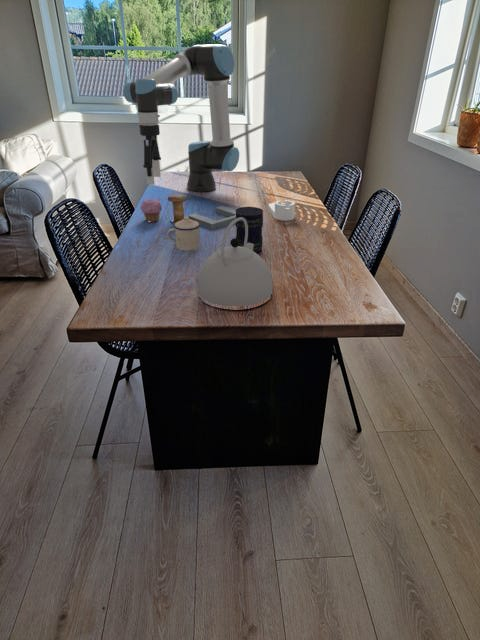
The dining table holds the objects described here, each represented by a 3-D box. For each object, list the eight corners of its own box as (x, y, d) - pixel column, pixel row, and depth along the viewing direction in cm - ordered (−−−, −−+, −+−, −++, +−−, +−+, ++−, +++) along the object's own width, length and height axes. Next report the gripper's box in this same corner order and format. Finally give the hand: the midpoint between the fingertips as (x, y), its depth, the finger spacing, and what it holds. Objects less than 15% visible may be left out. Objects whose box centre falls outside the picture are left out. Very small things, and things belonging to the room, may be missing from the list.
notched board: (188, 221, 192) (187, 215, 190) (222, 211, 204) (222, 205, 202) (212, 230, 182) (212, 224, 181) (246, 219, 194) (246, 213, 193)
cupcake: (141, 220, 193) (138, 197, 187) (161, 218, 195) (159, 195, 190) (144, 226, 185) (141, 203, 180) (164, 224, 188) (162, 201, 182)
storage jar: (243, 257, 157) (243, 216, 150) (230, 248, 165) (230, 209, 157) (267, 253, 161) (268, 212, 154) (254, 244, 169) (255, 205, 161)
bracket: (296, 220, 194) (297, 205, 190) (277, 221, 192) (277, 206, 189) (284, 207, 210) (285, 192, 207) (266, 207, 209) (267, 193, 206)
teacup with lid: (201, 243, 169) (200, 213, 163) (199, 252, 162) (197, 221, 156) (170, 242, 170) (167, 213, 164) (166, 252, 162) (163, 221, 156)
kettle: (220, 268, 150) (218, 202, 138) (284, 280, 142) (288, 211, 130) (184, 301, 130) (178, 227, 118) (256, 316, 122) (258, 239, 111)
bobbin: (166, 222, 190) (163, 196, 184) (180, 218, 195) (179, 193, 189) (177, 227, 185) (175, 200, 179) (192, 222, 190) (191, 197, 184)
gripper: (152, 128, 160) (157, 188, 171) (164, 120, 182) (168, 173, 192) (131, 128, 160) (138, 187, 171) (145, 120, 182) (150, 173, 192)
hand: (154, 180), depth 182 cm, fingers open, 13 cm apart
